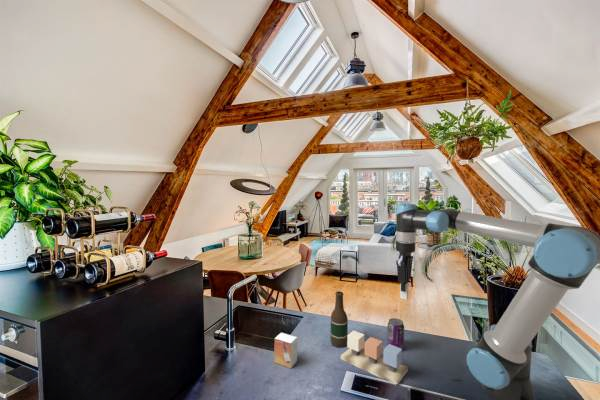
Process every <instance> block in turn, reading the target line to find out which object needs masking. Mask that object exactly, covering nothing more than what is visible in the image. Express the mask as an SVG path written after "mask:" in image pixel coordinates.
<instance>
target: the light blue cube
mask: <svg viewBox="0 0 600 400" xmlns="http://www.w3.org/2000/svg"><path fill="white" fill-rule="evenodd" d="M382 354H383V363H385V364H387V365H390V366H392V367H394V368H397V367H398V366H399V365H400V364H402V363H403V358H402V357H403V349H401V348H398V347H396V346H393V345H390V344H389V345H386V346H385V347H384V348H383V349H382Z"/></svg>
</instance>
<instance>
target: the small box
mask: <svg viewBox="0 0 600 400" xmlns="http://www.w3.org/2000/svg"><path fill="white" fill-rule="evenodd" d="M273 345H274V347H273V348H274V349H273V351H274V352H273V353H274V356H273V362H274V363H275V364H278V365H281V366H282V367H283V366H284V367H286V368H289V369H292V367H293V366H294V365H295V364H296V363H297V362H298V336H295V335H290V334H288V333H284V332H280V333H279V334H278V335H276V337H274V344H273Z"/></svg>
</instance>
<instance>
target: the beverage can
mask: <svg viewBox="0 0 600 400" xmlns="http://www.w3.org/2000/svg"><path fill="white" fill-rule="evenodd" d="M386 342H387V343H386V346H388V345H389V344H390V345H393V346H396V347H398V348H401V349H402V350H404V348H405V324H404V321H403V320H401V319H399V318H396V317H395V318H394V317H393V318H392V317H391V318H389V320H388V323H387V339H386Z"/></svg>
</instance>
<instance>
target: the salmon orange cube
mask: <svg viewBox="0 0 600 400" xmlns="http://www.w3.org/2000/svg"><path fill="white" fill-rule="evenodd" d="M364 349H365V352H364V355H367V356H369V357H371V358H373V359H376V360H377V359H378V358H379V357H380V356H382V354H383V341H382V340H380V339H377V338H374V337H372V336H370V337H368V339H366V340H364Z"/></svg>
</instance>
